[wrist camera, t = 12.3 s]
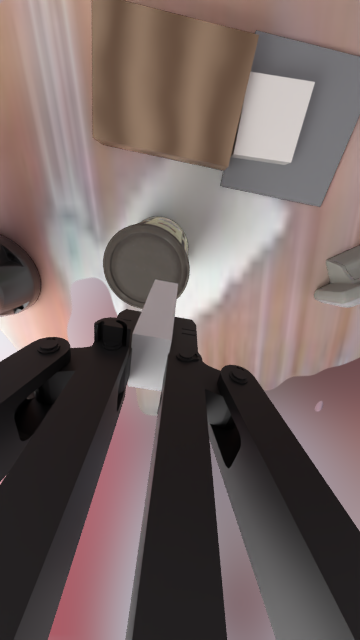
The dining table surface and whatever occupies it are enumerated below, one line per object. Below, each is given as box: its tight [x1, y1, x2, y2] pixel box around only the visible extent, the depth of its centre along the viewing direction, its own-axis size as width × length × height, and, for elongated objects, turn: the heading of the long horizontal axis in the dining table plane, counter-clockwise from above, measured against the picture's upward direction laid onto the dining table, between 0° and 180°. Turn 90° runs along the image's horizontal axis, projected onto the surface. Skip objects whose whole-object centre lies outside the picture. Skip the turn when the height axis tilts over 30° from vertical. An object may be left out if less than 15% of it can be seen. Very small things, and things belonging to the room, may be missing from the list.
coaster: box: [231, 72, 315, 165], centre depth 29 cm, size 8×8×2 cm
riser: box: [92, 0, 259, 171], centre depth 28 cm, size 18×12×4 cm, turn 80°
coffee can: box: [103, 216, 190, 309], centre depth 32 cm, size 10×10×14 cm
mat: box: [220, 30, 360, 207], centre depth 31 cm, size 16×16×1 cm
